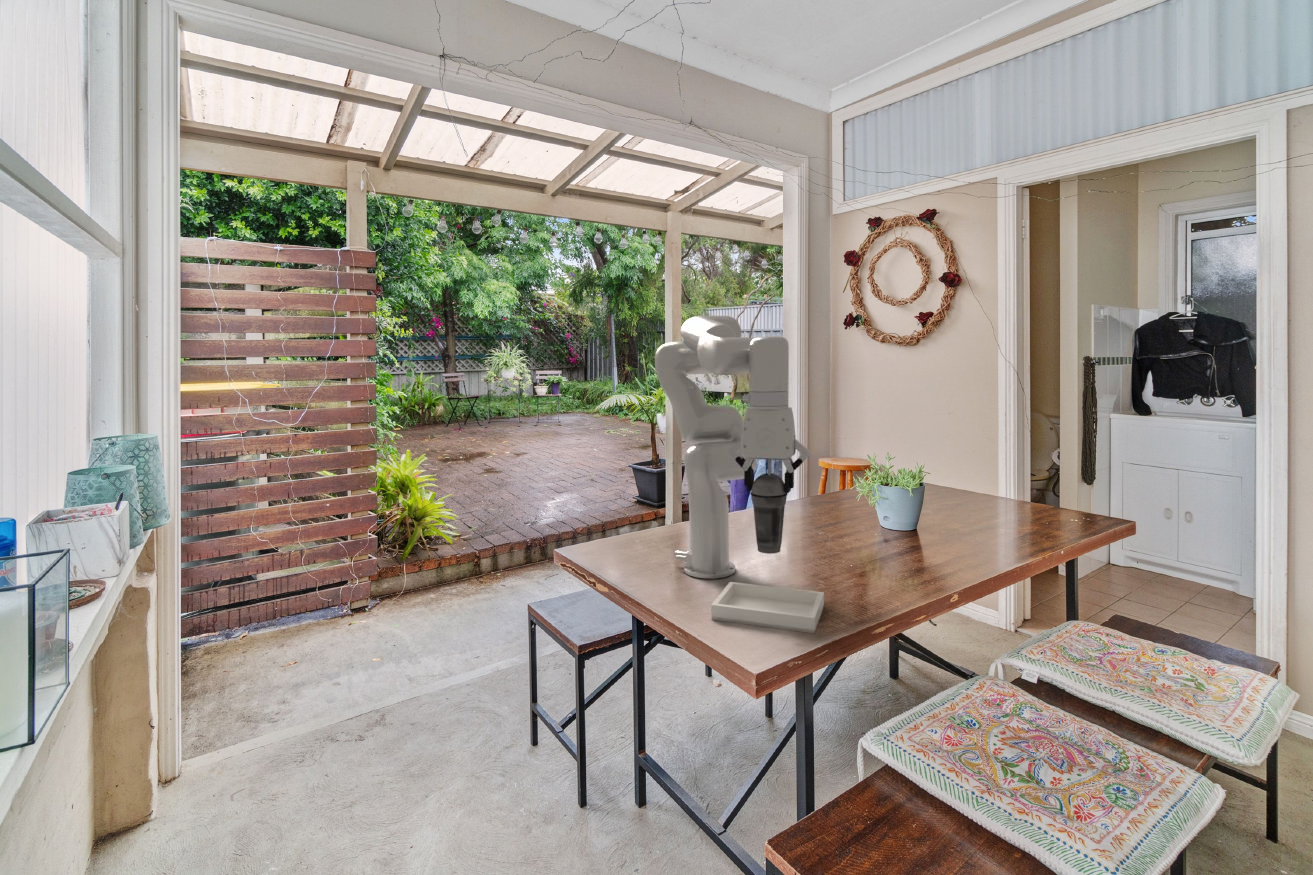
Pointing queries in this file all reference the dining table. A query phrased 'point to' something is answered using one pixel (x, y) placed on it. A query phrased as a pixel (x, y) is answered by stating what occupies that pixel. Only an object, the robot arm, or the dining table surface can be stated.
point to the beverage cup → (768, 511)
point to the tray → (769, 606)
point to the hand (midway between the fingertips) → (768, 489)
